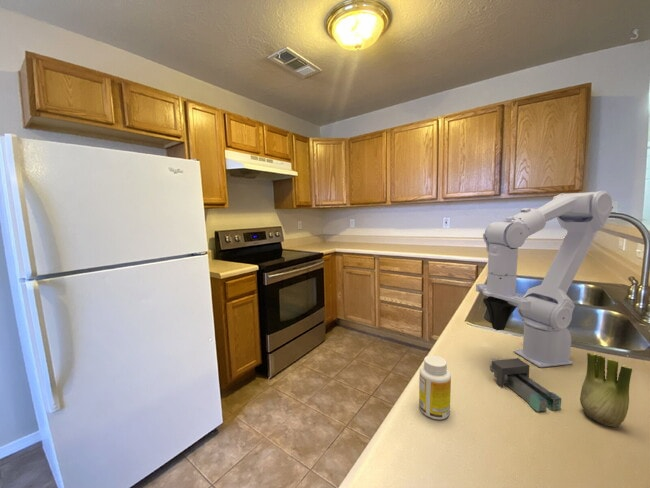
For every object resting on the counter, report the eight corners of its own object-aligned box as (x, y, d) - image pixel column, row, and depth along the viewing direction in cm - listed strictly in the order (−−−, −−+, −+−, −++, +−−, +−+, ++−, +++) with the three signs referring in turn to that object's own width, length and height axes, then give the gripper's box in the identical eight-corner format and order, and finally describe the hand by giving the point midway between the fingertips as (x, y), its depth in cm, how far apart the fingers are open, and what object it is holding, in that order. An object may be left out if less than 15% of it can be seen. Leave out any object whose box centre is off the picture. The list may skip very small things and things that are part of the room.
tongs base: (500, 366, 68) (501, 357, 67) (560, 409, 53) (561, 398, 53) (487, 368, 67) (488, 358, 67) (544, 412, 52) (545, 400, 52)
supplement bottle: (455, 411, 53) (457, 361, 52) (440, 426, 49) (442, 372, 48) (428, 397, 57) (429, 350, 56) (413, 409, 54) (414, 359, 53)
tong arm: (499, 374, 64) (499, 365, 64) (546, 410, 52) (546, 400, 52) (492, 374, 64) (492, 365, 64) (537, 411, 52) (538, 400, 52)
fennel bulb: (630, 432, 47) (638, 366, 46) (599, 431, 48) (606, 365, 46) (600, 408, 53) (606, 349, 52) (572, 407, 53) (578, 348, 52)
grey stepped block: (516, 375, 64) (517, 358, 63) (528, 383, 61) (529, 365, 60) (490, 378, 63) (491, 360, 62) (501, 386, 60) (502, 368, 59)
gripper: (466, 267, 71) (463, 318, 73) (511, 281, 57) (507, 344, 58) (490, 266, 72) (488, 316, 74) (541, 280, 58) (536, 341, 59)
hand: (498, 328), depth 66 cm, fingers closed
